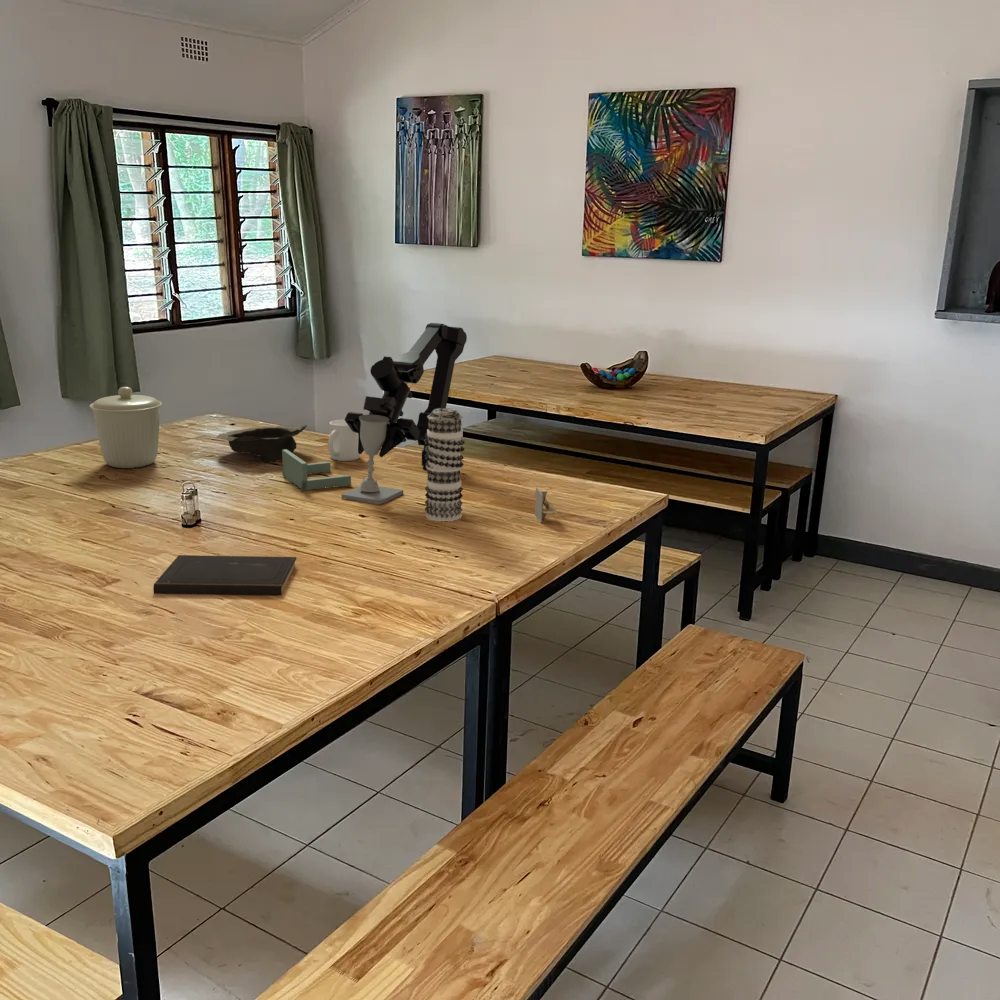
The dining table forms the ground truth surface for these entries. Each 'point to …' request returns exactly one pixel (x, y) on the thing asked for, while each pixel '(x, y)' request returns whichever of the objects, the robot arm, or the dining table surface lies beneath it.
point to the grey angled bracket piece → (539, 504)
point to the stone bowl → (263, 441)
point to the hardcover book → (226, 575)
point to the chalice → (372, 445)
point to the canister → (127, 428)
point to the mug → (342, 442)
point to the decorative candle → (444, 465)
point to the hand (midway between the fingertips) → (369, 454)
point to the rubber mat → (373, 495)
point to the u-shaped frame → (299, 469)
